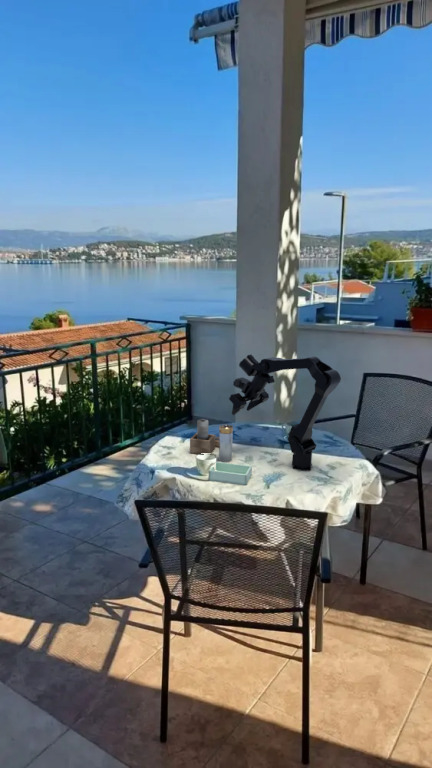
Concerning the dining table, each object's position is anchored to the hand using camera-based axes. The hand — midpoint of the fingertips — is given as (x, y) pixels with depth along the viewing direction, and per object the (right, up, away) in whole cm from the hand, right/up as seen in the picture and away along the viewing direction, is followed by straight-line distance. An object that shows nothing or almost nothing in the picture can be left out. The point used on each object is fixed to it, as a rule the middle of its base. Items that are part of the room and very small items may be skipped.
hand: (240, 412), depth 201 cm
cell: (-6, -18, -11) cm, 22 cm away
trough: (-5, -21, -28) cm, 35 cm away
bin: (-15, -15, -3) cm, 22 cm away
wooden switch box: (-10, -14, +5) cm, 18 cm away
